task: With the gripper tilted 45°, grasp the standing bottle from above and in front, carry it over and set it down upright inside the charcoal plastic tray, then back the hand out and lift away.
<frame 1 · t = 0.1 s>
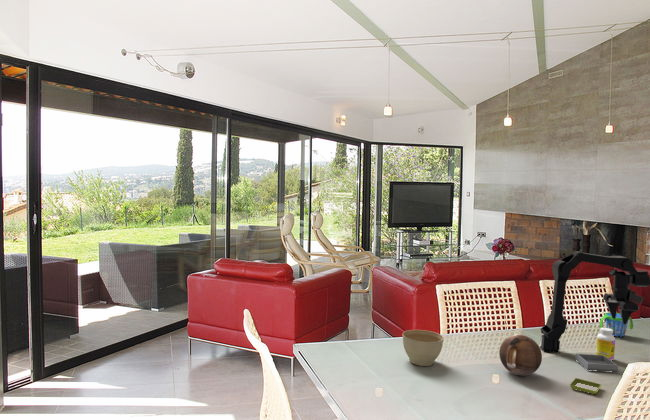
hand: (619, 321, 210), 15 cm above the table, tool pointing down, fingers open, 9 cm apart
wooden sphere: (519, 374, 185), on the table
planter bowl: (421, 362, 194), on the table
supplement bottle: (604, 359, 205), on the table
tray: (595, 366, 195), on the table
snack cup: (615, 335, 239), on the table
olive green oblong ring: (585, 390, 173), on the table
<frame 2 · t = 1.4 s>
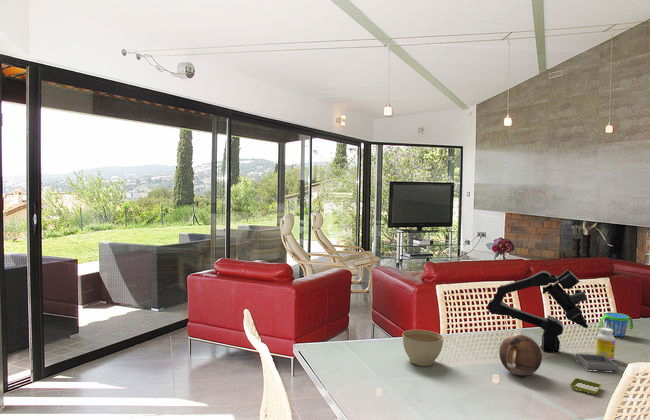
hand: (586, 324, 207), 13 cm above the table, tool tilted 45°, fingers open, 9 cm apart
nothing on the table moved.
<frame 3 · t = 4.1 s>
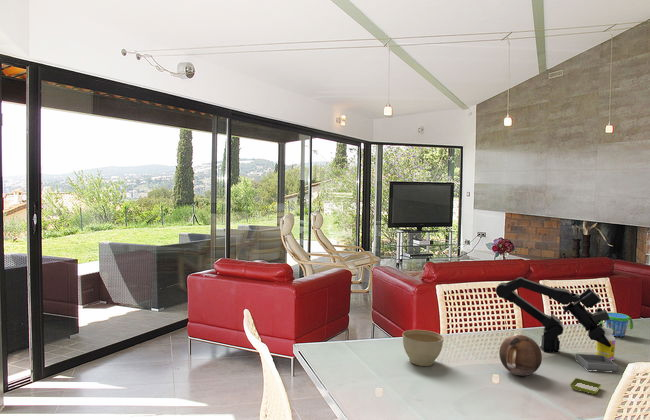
hand: (609, 344, 204), 7 cm above the table, tool tilted 45°, fingers closed on supplement bottle, 7 cm apart
supplement bottle: (604, 359, 205), on the table, touching gripper
everything else where it was.
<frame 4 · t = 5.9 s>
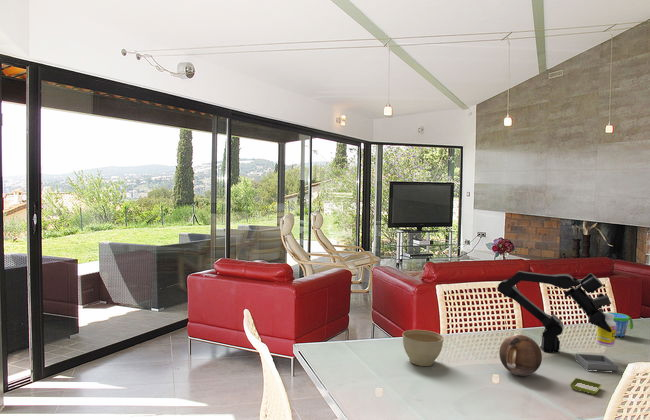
hand: (610, 329, 202), 13 cm above the table, tool tilted 45°, fingers closed on supplement bottle, 7 cm apart
supplement bottle: (605, 345, 203), point 6 cm above the table, touching gripper
everything else where it was.
when the fingers open (9 cm above the table, at t = 8.0 s): supplement bottle drops 1 cm, resting on tray.
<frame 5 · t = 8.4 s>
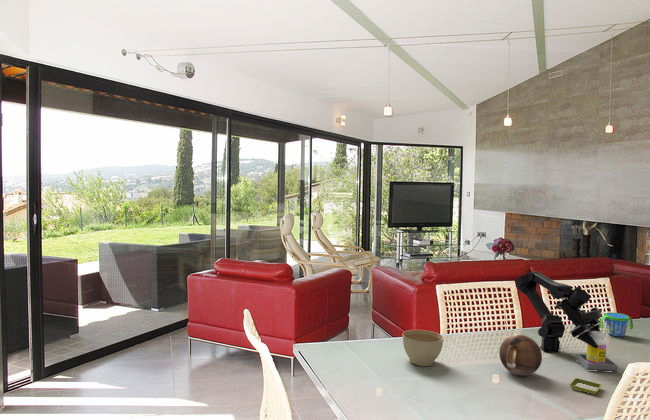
hand: (601, 345, 194), 9 cm above the table, tool tilted 45°, fingers open, 9 cm apart
supplement bottle: (595, 364, 195), point 1 cm above the table, touching tray
everything else where it was.
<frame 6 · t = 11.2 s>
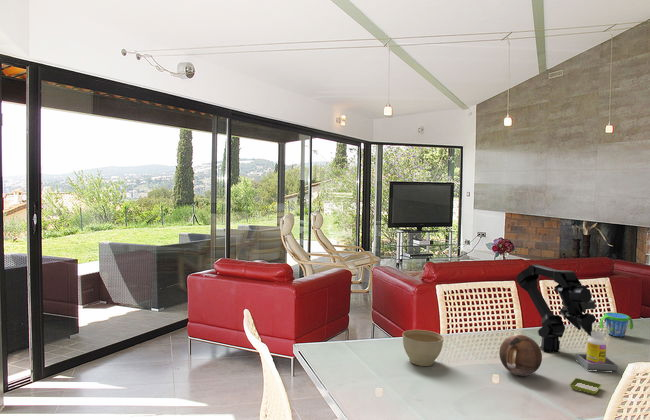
hand: (585, 332, 205), 11 cm above the table, tool tilted 30°, fingers open, 9 cm apart
nothing on the table moved.
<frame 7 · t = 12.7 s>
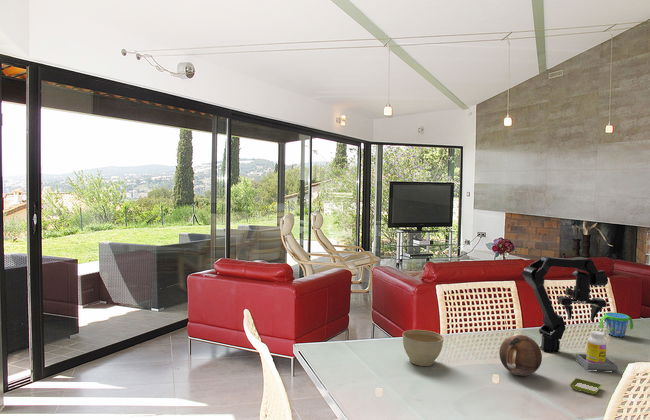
hand: (580, 320, 215), 13 cm above the table, tool pointing down, fingers open, 9 cm apart
nothing on the table moved.
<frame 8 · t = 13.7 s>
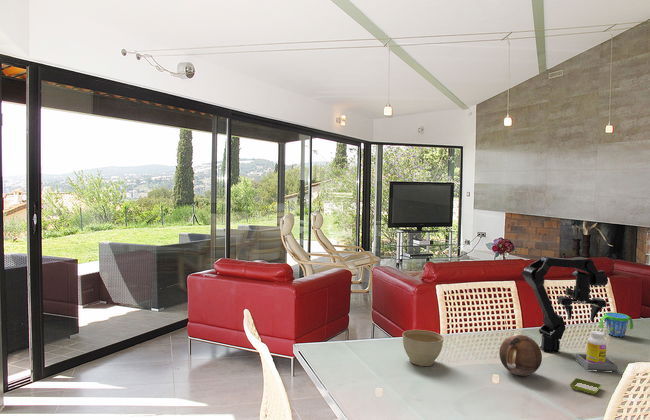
hand: (580, 320, 215), 13 cm above the table, tool pointing down, fingers open, 9 cm apart
nothing on the table moved.
at the end: supplement bottle 0.1 cm off-centre on the tray, point 0.8 cm above the tray's base; supplement bottle tilted 0°; the gripper is holding nothing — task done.
